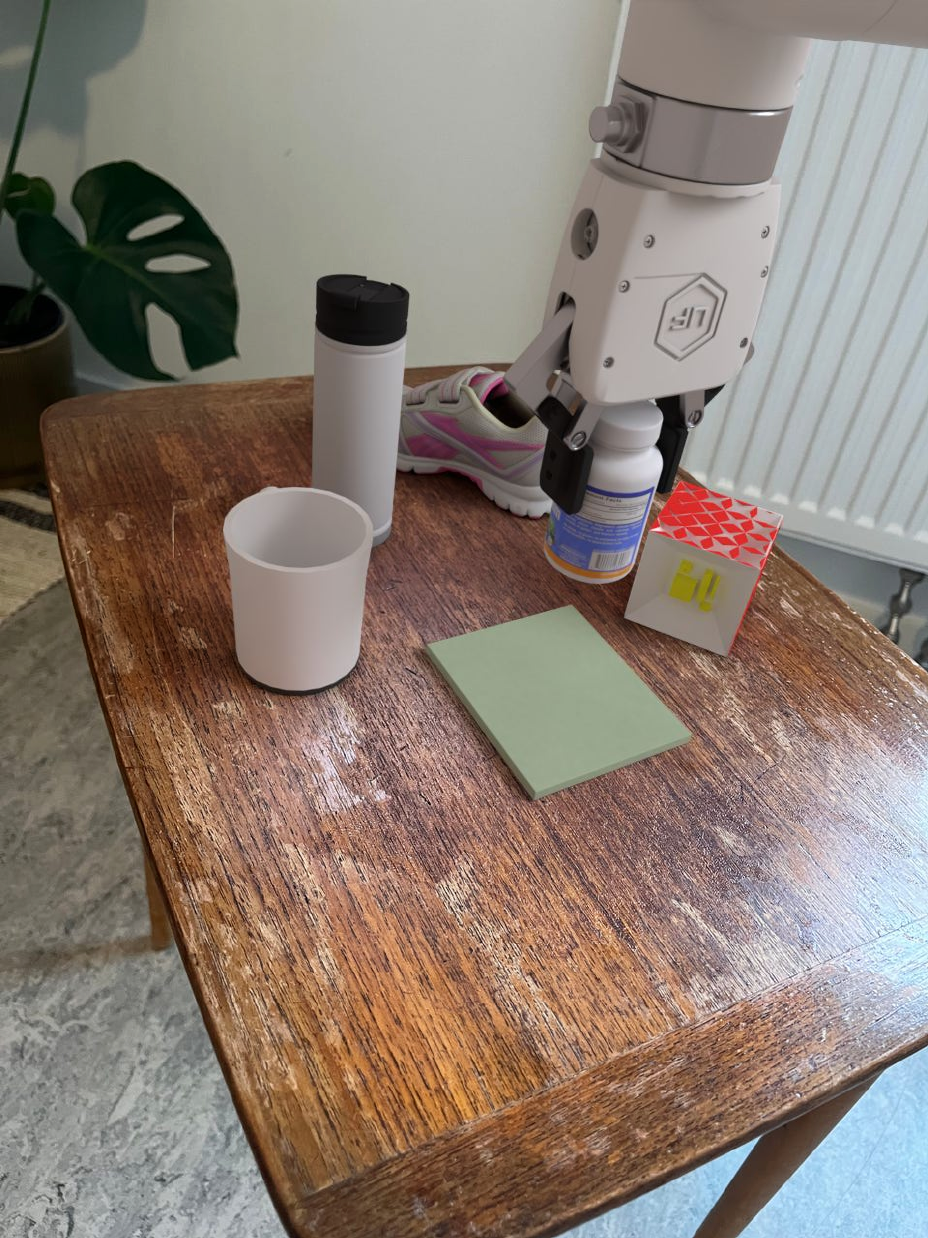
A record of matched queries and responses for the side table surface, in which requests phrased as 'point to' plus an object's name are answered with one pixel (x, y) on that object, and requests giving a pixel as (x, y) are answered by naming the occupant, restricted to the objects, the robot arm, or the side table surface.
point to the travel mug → (359, 392)
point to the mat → (556, 699)
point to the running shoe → (476, 438)
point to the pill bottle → (610, 497)
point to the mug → (297, 586)
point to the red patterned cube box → (702, 567)
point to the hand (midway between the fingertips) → (605, 487)
